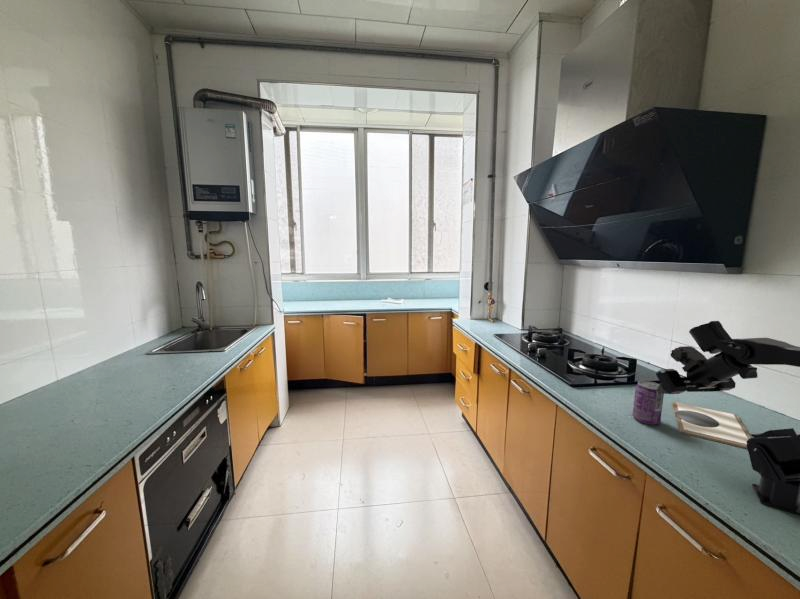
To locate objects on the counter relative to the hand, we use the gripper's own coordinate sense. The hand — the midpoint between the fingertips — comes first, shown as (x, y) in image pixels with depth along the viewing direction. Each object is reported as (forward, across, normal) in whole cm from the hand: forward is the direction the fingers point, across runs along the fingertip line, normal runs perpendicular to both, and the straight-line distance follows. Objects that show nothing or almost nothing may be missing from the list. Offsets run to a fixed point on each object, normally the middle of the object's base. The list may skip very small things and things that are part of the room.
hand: (672, 390), depth 93 cm
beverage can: (+15, 0, +4) cm, 15 cm away
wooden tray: (+11, -17, +7) cm, 22 cm away
